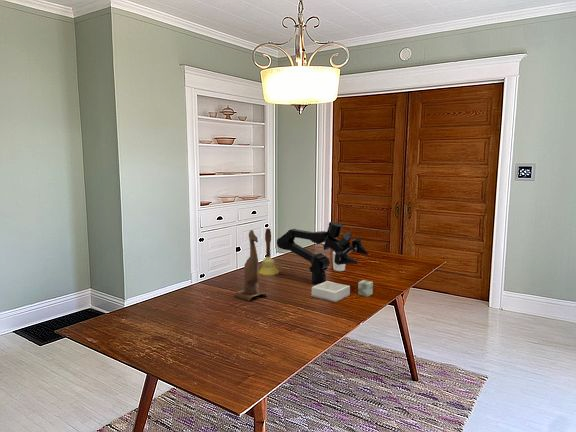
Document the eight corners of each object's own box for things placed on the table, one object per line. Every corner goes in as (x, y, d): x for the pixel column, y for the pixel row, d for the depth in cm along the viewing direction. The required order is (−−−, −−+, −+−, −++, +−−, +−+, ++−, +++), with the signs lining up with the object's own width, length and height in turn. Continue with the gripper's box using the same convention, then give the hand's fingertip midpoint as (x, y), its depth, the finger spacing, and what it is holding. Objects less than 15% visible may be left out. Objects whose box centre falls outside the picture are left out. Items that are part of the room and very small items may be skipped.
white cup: (345, 271, 245) (345, 254, 244) (331, 271, 247) (331, 253, 246) (346, 268, 253) (346, 251, 252) (333, 267, 255) (333, 250, 253)
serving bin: (311, 296, 204) (311, 287, 203) (327, 289, 214) (327, 280, 213) (334, 302, 196) (335, 292, 195) (349, 295, 206) (350, 286, 205)
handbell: (283, 273, 243) (283, 229, 239) (264, 276, 236) (264, 231, 232) (271, 268, 253) (271, 226, 249) (253, 271, 246) (252, 228, 242)
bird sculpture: (250, 303, 196) (252, 234, 190) (233, 296, 203) (234, 229, 198) (268, 297, 204) (269, 230, 199) (251, 291, 212) (252, 227, 206)
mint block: (358, 294, 207) (358, 282, 206) (363, 291, 211) (363, 280, 210) (367, 296, 204) (367, 284, 203) (372, 294, 208) (372, 281, 207)
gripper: (325, 240, 205) (353, 253, 197) (348, 224, 217) (375, 236, 208) (324, 258, 211) (350, 272, 203) (346, 241, 223) (372, 254, 214)
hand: (362, 258), depth 207 cm, fingers open, 9 cm apart
